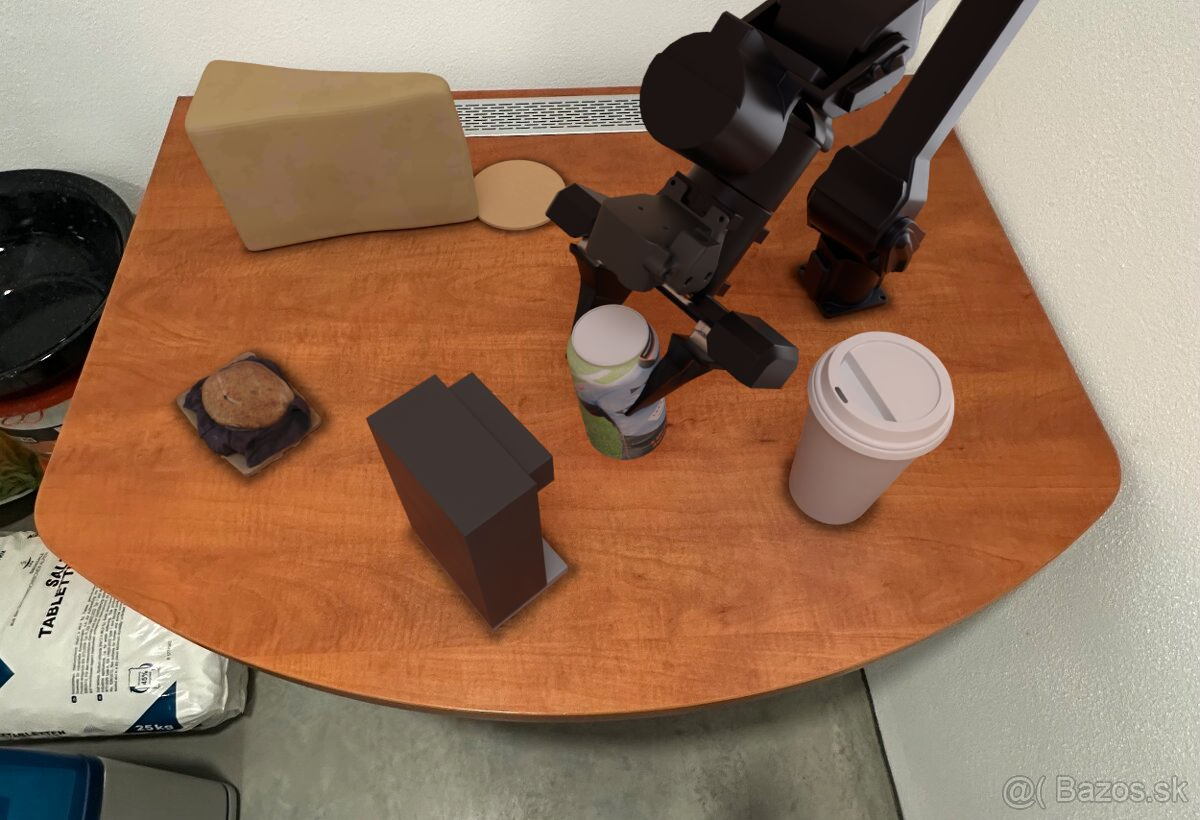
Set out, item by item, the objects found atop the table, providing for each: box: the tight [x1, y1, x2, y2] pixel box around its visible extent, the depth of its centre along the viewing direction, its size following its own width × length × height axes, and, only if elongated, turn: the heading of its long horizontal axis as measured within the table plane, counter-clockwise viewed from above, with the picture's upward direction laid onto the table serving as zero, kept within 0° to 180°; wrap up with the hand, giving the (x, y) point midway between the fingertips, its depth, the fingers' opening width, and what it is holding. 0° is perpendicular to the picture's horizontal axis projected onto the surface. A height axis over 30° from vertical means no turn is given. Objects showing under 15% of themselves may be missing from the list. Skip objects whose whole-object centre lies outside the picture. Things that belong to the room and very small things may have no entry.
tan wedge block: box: [184, 59, 479, 252], centre depth 73 cm, size 22×10×15 cm, turn 92°
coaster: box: [474, 159, 566, 231], centre depth 81 cm, size 10×10×1 cm
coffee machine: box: [365, 371, 569, 632], centre depth 53 cm, size 7×10×16 cm
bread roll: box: [176, 351, 323, 478], centre depth 65 cm, size 11×8×4 cm
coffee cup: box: [788, 330, 955, 526], centre depth 58 cm, size 10×10×15 cm
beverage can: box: [565, 304, 668, 461], centre depth 55 cm, size 6×7×12 cm
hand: (598, 386), depth 54 cm, fingers closed on beverage can, 5 cm apart
